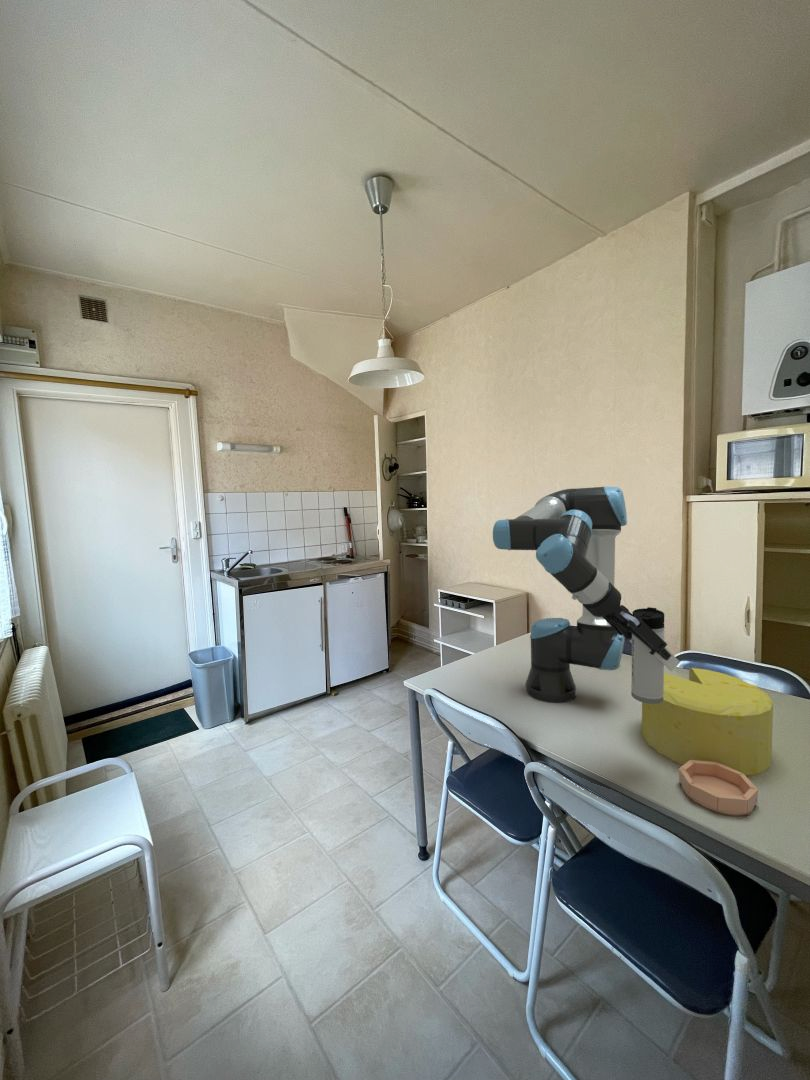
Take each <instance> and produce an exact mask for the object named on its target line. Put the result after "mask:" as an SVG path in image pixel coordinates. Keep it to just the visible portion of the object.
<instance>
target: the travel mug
mask: <svg viewBox="0 0 810 1080" xmlns="http://www.w3.org/2000/svg"><path fill="white" fill-rule="evenodd" d="M631 614H632V615H634V614H637V615H639V617H640V618H641V619H642V620H643V621H644V622H645V623H646V624H647V625H648V626H649V627H650V628H651V629H652V630H653V631H654V632H655V633H656V634H657V635H658V636H659V637H660V638H661V639H662V640H663V641H664V642H665V613H664V612H663V611H661V610H659V609H658V608H656V607H650V606H648V607H646V608H644V607H643V608H638V609H634V610H633V611H632V613H631ZM650 651H651V649H650V648H648V647H647V646H646V645H645V644H644V643H643V642H641V641H640V640H639V639H638V638H637V637H636V636H634V635H633V634H632V643H631V687H630V688H631V691H630V693H631V694H630V695H631V697H632V698H633V699H635V700H636V701H637V702H641V703H642V702H643V703H648V704H658V703H661V702H662V701H663V692H664V673H665V665H664V664H663V663H662V662H661V661H660V660H659V659H658V658H657V657H656V656H655V655H652V654H650V653H649V652H650Z"/></svg>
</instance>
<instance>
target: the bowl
mask: <svg viewBox="0 0 810 1080" xmlns="http://www.w3.org/2000/svg"><path fill="white" fill-rule="evenodd" d="M678 781H679V782H680V784H681V788H682V790H683V793H685V795H686V796H687V797H688V798H690V800H691V801H693V802H695V803H696V804H697V805H699V806H701V807H703V808H705V809H707V810H710V811H712V812H715V813H717V814H723V815H726V816H727V815H728V816H732V817H733V816H736V817H738V816H739V817H741V816H747V815H749V814H751V813H752V812H753V811H754V810H755V807H756V806H755V805H757V803H758V798H759V797H758V796H759V794H758V793H759V789H758V788H757V786H756V785H754V783H753V782H752V781H751V780H750V779H749V778H748V777H747V776H745V775H744V774H743V773H741V772H739V771H736V770H734V769H732V768H729V767H727V766H724V765H722V764H720V763H717V762H710V761H697V760H689V761H688V762H687V763H685V764H684V765H683V764H682V765H681V766H680V767H679V768H678Z"/></svg>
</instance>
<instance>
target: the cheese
mask: <svg viewBox="0 0 810 1080" xmlns="http://www.w3.org/2000/svg"><path fill="white" fill-rule="evenodd" d="M688 670H689V672H688V679H686V678H683V677H680V676H676V675H672V674H668V673H666V672H664V692H663V701H662V702H661V703H658V704H648V703H643V702H641V735H642V737H643V739H644V740H645V742H646V743H647V744H648V745H649V746H650V747H651V748H652V749H654V750H655V751H656V752H658V753H659V754H661V755H662V756H664V757H666V758H668V759H670V760H671V761H673V762H674V763H675V762H676V763H678V764H679V765H682V766H683V765H684V764H685V763H687V762H688V761H689V760H697V761H710V762H717V763H720V764H722V765H724V766H727V767H729V768H732V769H734V770H736V771H739V772H741V773H743V774H744V775H745V776H746V777H747V776H755V775H759V774H761V773H763V772H765V771H767V770H768V769H769V767H770V766H771V762H772V750H773V748H772V747H773V724H774V723H773V721H774V720H773V719H774V715H773V714H774V703H773V701H772V699H771V697H770V696H769V694H767V693H766V692H765V691H763V690H762V689H761V688H759V687H757V685H754V684H752V683H749V682H747V681H744V680H743V679H741V678H738V677H735V676H732V675H730V674H725V673H723V672H718V671H715V670H714V671H713V670H710V669H706V668H705V669H703V668H698V667H697V668H696V667H689V669H688Z"/></svg>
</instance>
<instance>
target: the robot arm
mask: <svg viewBox="0 0 810 1080" xmlns="http://www.w3.org/2000/svg"><path fill="white" fill-rule="evenodd" d="M627 518H628V515H627V508H626V501H625V497H624V492H623V490H622V489H621V488H620V487H619V486H598V487H596V486H595V487H579V488H566V489H561V490H558V491H555V492H553V493H550V494H548V495H545V496H543V497H541V498H540V499H538V501H537V502H536V503H535V504H534V506H533V507H532V508H529V509H528V510H527V511H525V512H524V513H522V514H521V515H519V516H518V517H516V518H513V519H508V518H505V519H498V520H497V521H495V522H494V524H493V528H492V541H493V545H494V546H495V548H496V549H499V550H507V551H535V558H536V560H537V562H539V564H540V565H541V566H542V567H543V569H544V570H545V571H546V572H547V573H549V574H550V575H551V576H552V577H553V578H554V579H555V580H556V581H558V583H559V584H561V585H562V586H563V587H564V588H565V589H566V590H567V592H569V594H572V596H571V599H572V600H573V601H576V600H577V601H578V602H579V603H580V604H582V615H581V616H580V617H579V618H578V619H577V620H576V625H571V622H570V620H569V619H567V618H563V617H548V618H541V619H538V620H536V621H534V622H533V623H532V624H531V625H530V635H529V638H530V664H531V666H530V669H529V672H528V675H527V678H526V681H525V691H526V693H527V694H528V695H529V696H531V697H532V698H534V699H536V700H537V699H538V700H539V701H540V700H541V701H543V702H548V703H549V702H550V703H564V702H565V703H566V702H569V701H571V700H573V699H574V698H576V697H577V696H576V695H577V688H576V684H575V681H574V680H575V679H573V678H574V677H573V675H572V672H571V667H570V665H574V666H581V667H588V668H594V669H599V670H608V671H615V670H618V668H619V667H620V664H621V660H622V656H623V651H624V646H625V639H626V640H629V642H630V643H631V644H632V634H633V635H634V636H636V637H637V638H638V639H639V640H640V641H641V642H643V643H644V644H645V645H646V646H647V647H648V648H650V649H651V651H650V652H649V653H650V654H652V655H655V656H656V657H657V658H658V659H659V660H660V661H661V662H662V663H663V664H664V667H665V668H667V669H668V670H669V671H670V672H673V671H674V670H675V668H676V667H677V666H678V665H679V664H680V663H681V661H680V660H679V659H678V658H677V657H676V656H675V655H674V654H673V653H672V652H671V651H670V650H669V649H668V648H667V646H668V643H667V642H666V641H665V640H664V641H663V640H662V639H661V638H660V637H659V636H658V635H657V634H656V633H655V632H654V631H653V630H652V629H651V628H650V627H649V626H648V625H647V624H646V623H645V622H644V621H643V620H642V619H641V618H640V617H639V615H637V614H634V615H632V613H631V612H630V611H629V608H627V607H626V606H625V605H623V604H621V600H622V594H621V592H620V590H618V589H617V588H616V587H615V570H616V568H615V566H616V565H615V564H616V563H615V562H616V560H615V559H616V537H617V536H618V535H620V534H621V532H622V527H624V526H627V525H628V519H627Z"/></svg>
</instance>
